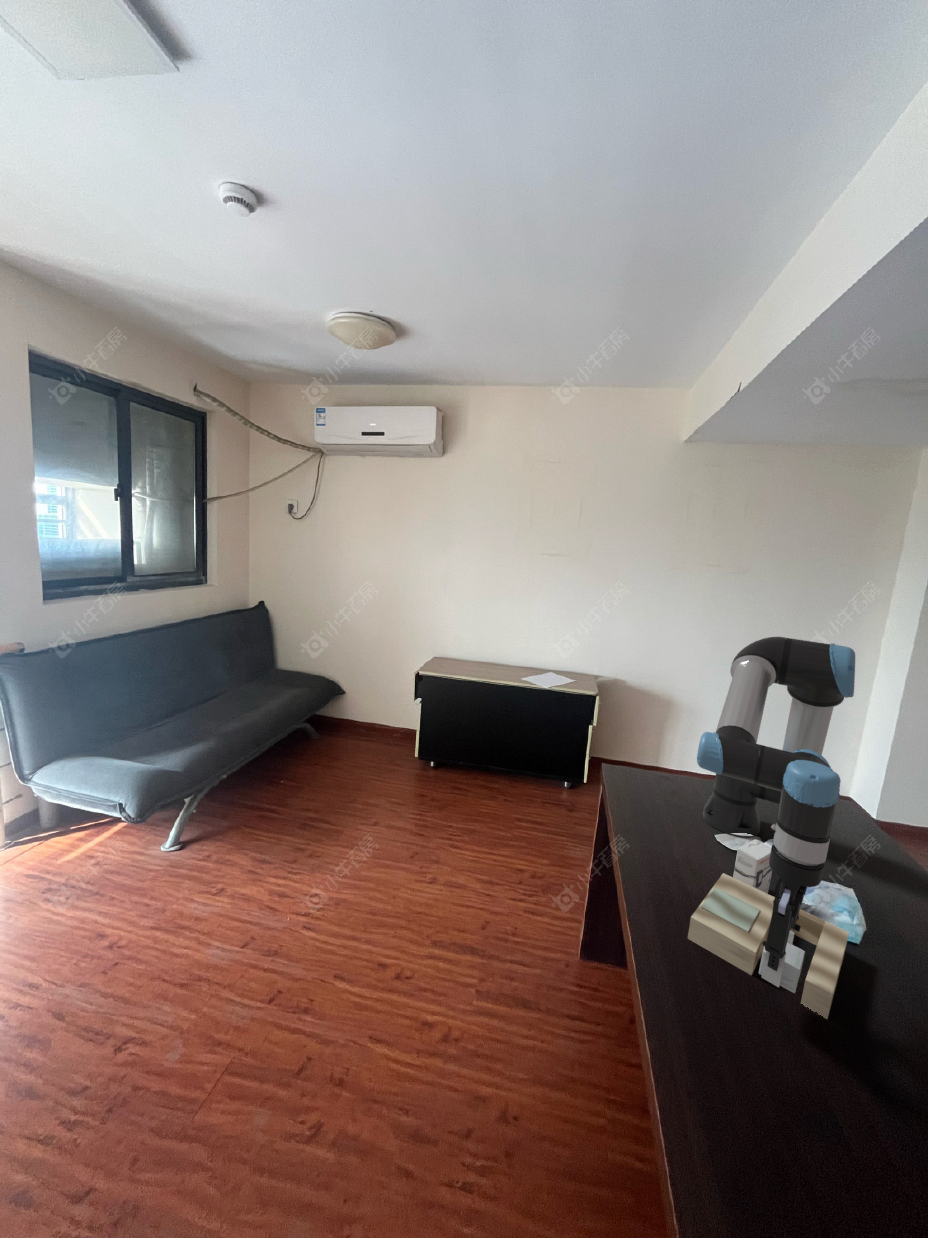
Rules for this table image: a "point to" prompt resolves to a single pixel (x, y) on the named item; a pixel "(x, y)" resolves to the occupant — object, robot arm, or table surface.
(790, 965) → the small box
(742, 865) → the ink box
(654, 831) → the table surface
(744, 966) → the board
